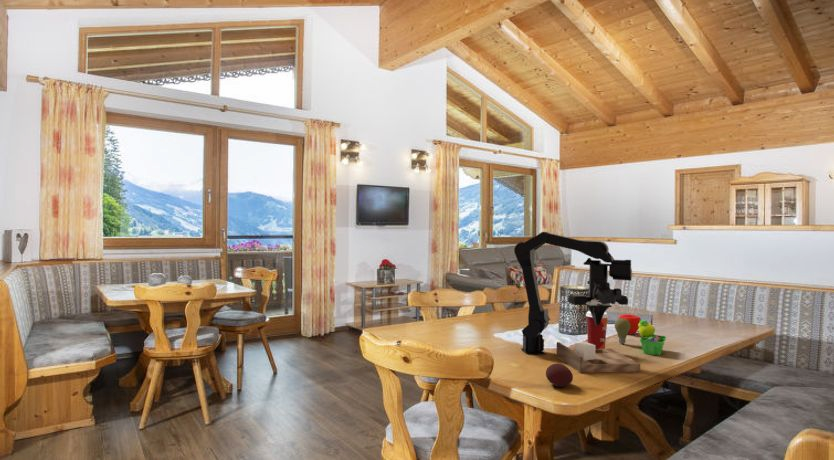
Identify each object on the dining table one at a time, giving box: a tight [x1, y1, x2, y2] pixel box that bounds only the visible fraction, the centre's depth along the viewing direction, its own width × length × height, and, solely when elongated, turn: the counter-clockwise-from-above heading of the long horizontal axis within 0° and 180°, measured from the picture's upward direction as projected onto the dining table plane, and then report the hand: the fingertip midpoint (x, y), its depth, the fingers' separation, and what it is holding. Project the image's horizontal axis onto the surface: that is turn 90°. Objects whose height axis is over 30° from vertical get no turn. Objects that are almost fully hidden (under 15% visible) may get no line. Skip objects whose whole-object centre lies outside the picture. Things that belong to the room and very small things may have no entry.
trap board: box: [555, 341, 641, 374], centre depth 159 cm, size 20×18×5 cm
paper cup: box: [585, 310, 609, 349], centre depth 176 cm, size 8×8×14 cm
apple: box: [618, 313, 642, 335], centre depth 205 cm, size 9×9×8 cm
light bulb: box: [614, 317, 630, 345], centre depth 186 cm, size 6×6×10 cm
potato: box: [545, 362, 574, 388], centre depth 138 cm, size 8×9×6 cm
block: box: [574, 341, 595, 361], centre depth 157 cm, size 4×4×4 cm
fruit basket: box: [638, 319, 667, 356], centre depth 176 cm, size 11×9×11 cm
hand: (597, 325), depth 163 cm, fingers closed
